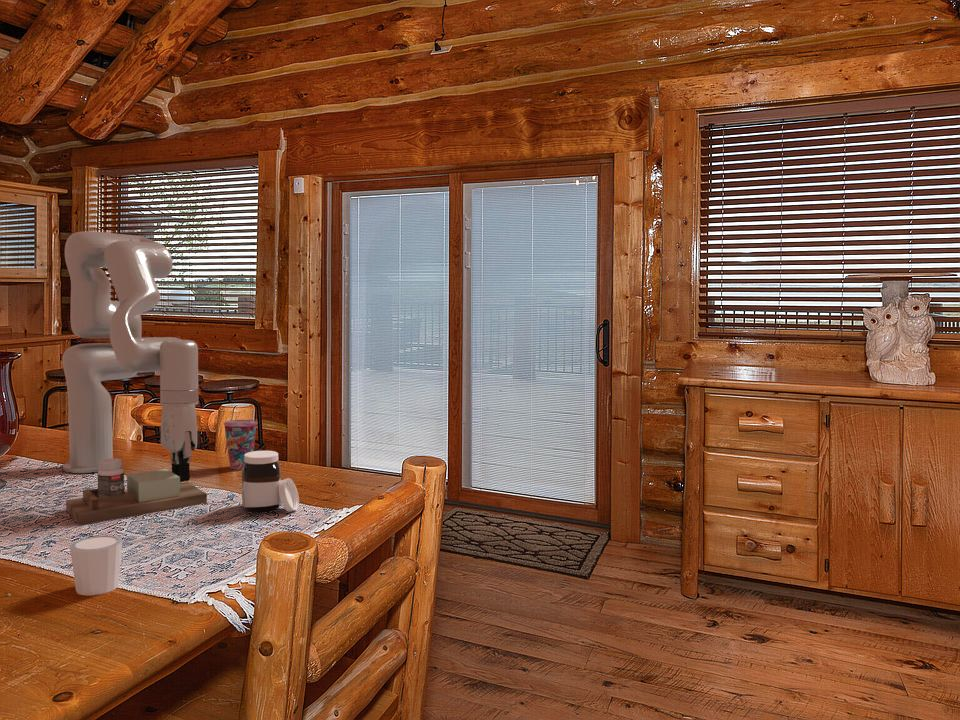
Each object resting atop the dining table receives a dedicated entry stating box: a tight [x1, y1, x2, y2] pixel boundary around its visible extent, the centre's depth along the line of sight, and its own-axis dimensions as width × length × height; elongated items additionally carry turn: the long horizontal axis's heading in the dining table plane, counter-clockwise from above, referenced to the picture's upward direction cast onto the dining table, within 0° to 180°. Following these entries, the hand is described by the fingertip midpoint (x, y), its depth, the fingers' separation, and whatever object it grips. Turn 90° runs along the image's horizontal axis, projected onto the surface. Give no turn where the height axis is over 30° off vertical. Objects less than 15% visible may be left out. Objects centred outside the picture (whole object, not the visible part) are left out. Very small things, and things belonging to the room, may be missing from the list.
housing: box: [65, 481, 208, 526], centre depth 142 cm, size 12×24×4 cm, turn 132°
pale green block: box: [126, 468, 181, 502], centre depth 143 cm, size 9×8×4 cm
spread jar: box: [241, 450, 300, 514], centre depth 142 cm, size 12×11×12 cm
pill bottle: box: [97, 457, 125, 498], centre depth 138 cm, size 5×5×8 cm
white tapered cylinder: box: [69, 534, 123, 596], centre depth 102 cm, size 7×7×7 cm
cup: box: [223, 419, 259, 471], centre depth 175 cm, size 9×8×12 cm
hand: (180, 480), depth 147 cm, fingers closed
